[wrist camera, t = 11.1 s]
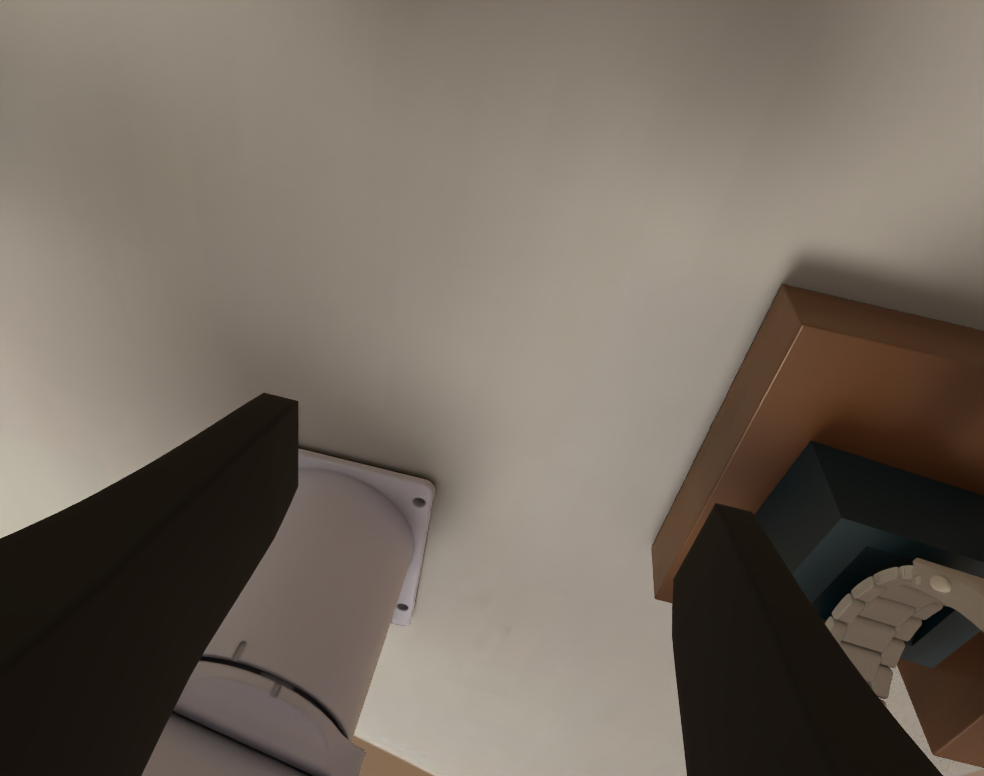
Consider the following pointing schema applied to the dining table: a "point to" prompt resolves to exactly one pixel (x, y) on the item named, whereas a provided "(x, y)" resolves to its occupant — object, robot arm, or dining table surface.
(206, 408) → the dining table surface
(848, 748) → the robot arm
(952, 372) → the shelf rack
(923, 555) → the watch
